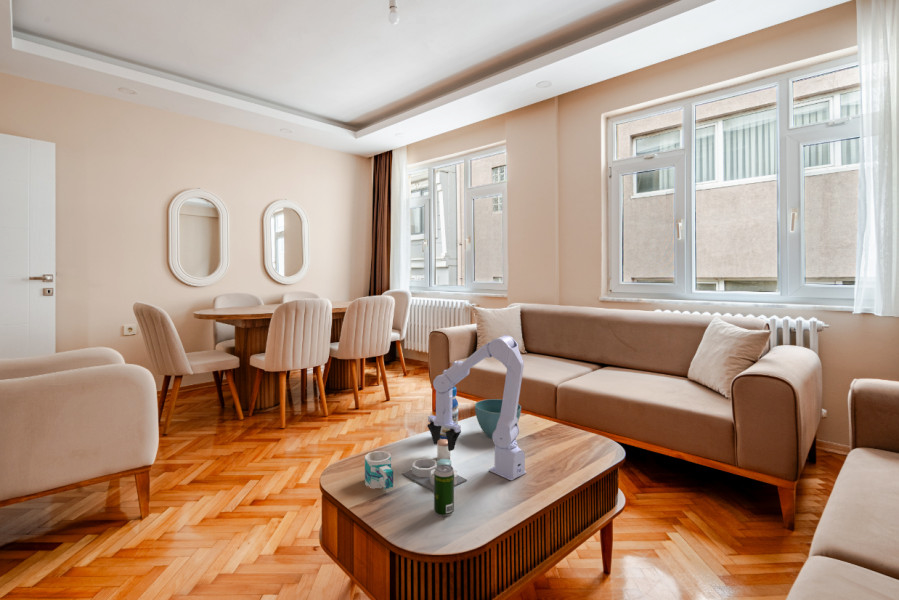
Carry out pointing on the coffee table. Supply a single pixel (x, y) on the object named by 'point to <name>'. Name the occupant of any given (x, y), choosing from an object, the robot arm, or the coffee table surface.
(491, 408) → the teal bowl
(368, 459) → the mug
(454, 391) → the beverage bottle
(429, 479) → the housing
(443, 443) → the rounded-end tube
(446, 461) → the teal-capped white cylinder
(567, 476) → the coffee table surface
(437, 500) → the beer can
